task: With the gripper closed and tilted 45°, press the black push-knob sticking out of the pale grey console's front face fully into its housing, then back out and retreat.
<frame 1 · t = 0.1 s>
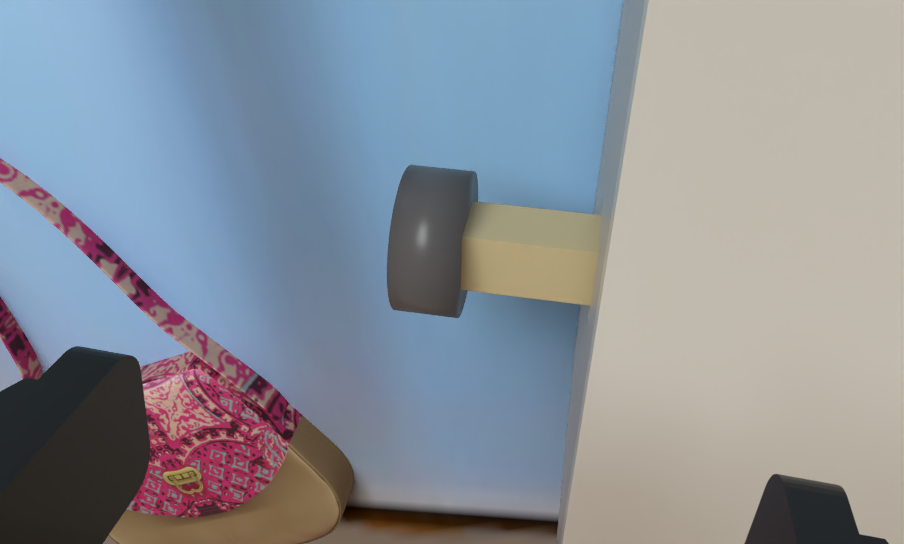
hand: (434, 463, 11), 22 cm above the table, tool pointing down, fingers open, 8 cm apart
knob: (530, 252, 26), point 8 cm above the table, slide at 0.0 cm
console: (739, 150, 32), on the table
shoulder bag: (122, 348, 45), on the table
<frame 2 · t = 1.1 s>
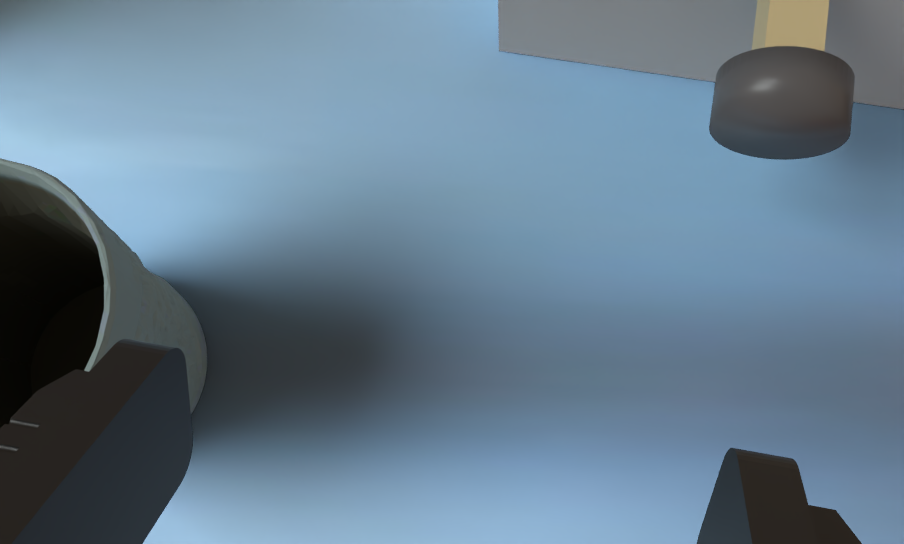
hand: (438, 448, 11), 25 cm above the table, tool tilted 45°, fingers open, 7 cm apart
grey green cup: (121, 366, 37), on the table
knob: (788, 30, 31), point 8 cm above the table, slide at 0.0 cm
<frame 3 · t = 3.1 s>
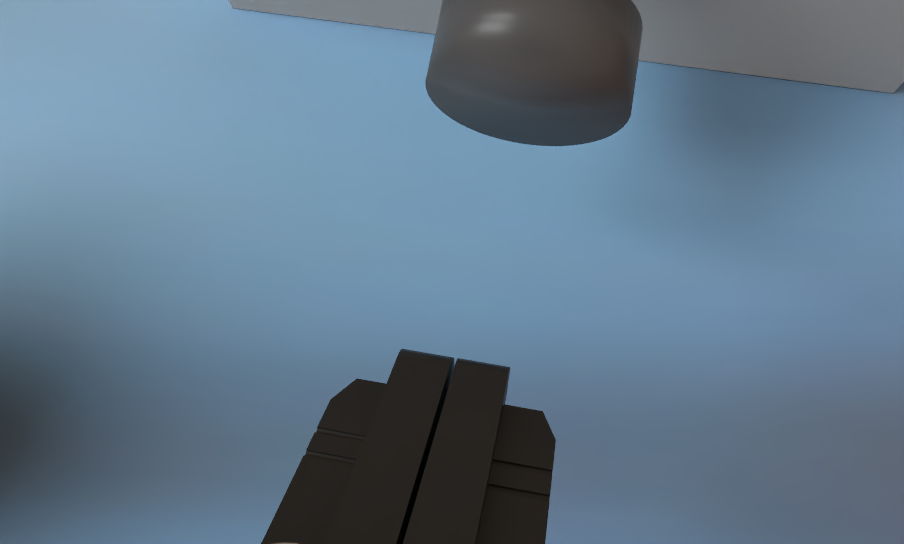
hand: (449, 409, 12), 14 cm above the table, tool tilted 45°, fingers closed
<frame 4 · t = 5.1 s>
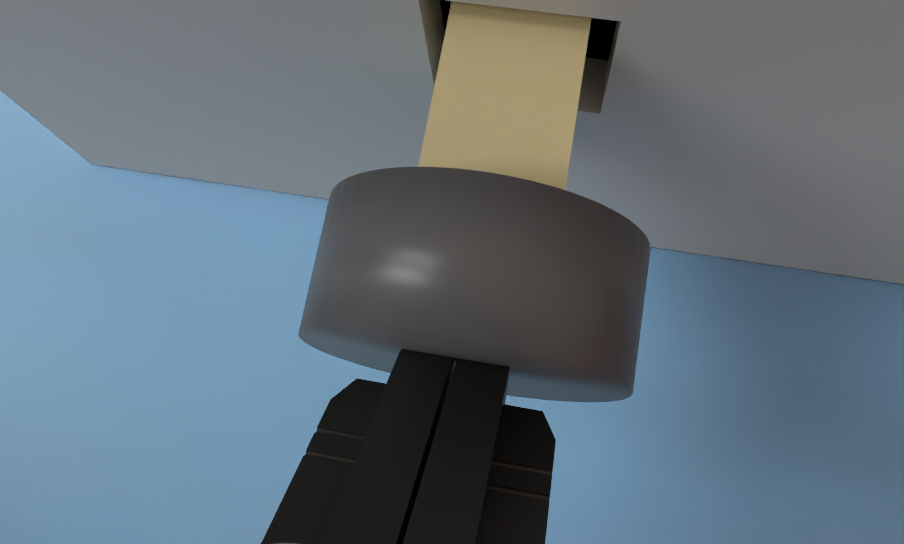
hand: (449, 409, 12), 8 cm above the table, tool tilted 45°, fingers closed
knob: (509, 106, 13), point 8 cm above the table, slide at 1.2 cm, touching gripper
console: (545, 44, 22), on the table
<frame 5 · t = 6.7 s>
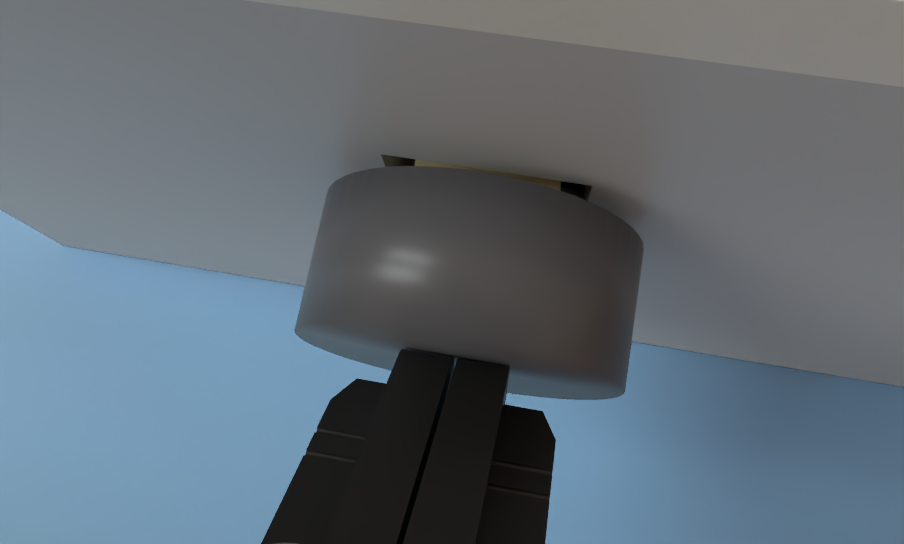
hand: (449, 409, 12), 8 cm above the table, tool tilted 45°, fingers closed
knob: (505, 105, 13), point 8 cm above the table, slide at 3.6 cm
console: (528, 126, 21), on the table
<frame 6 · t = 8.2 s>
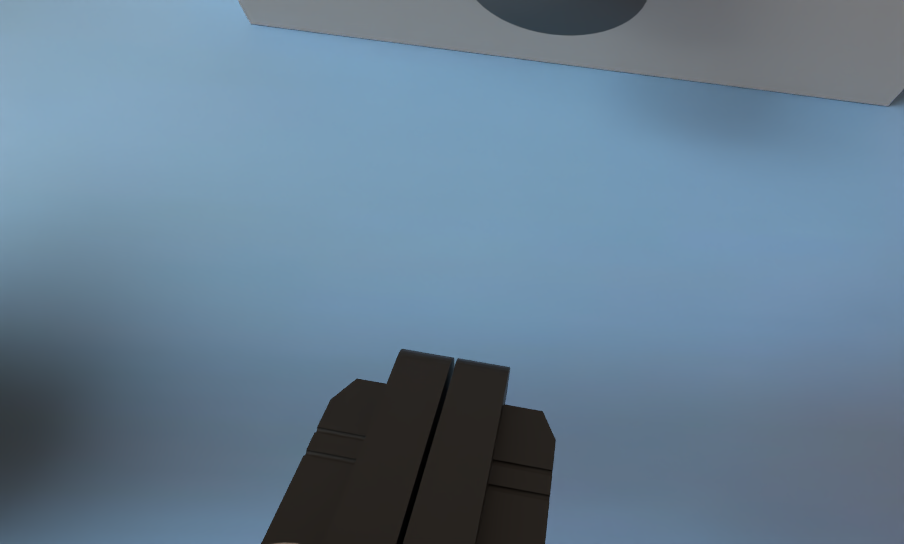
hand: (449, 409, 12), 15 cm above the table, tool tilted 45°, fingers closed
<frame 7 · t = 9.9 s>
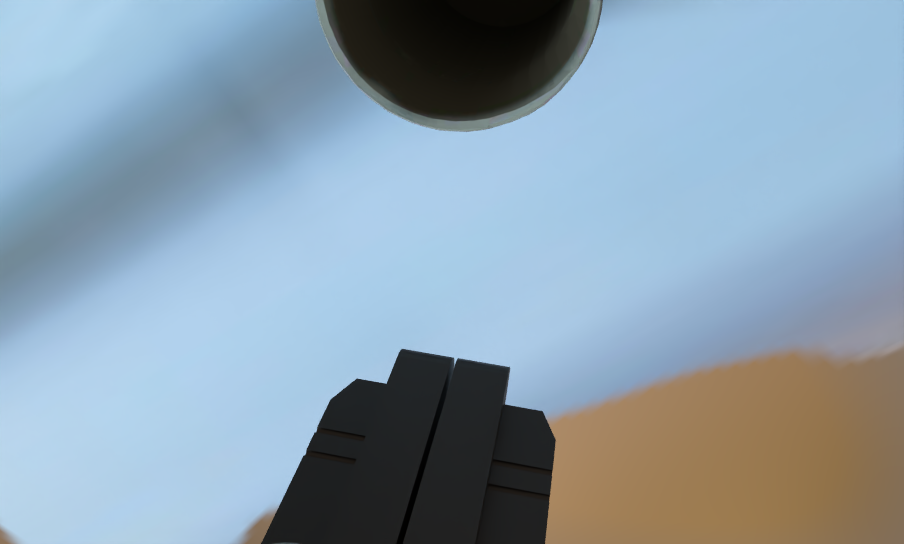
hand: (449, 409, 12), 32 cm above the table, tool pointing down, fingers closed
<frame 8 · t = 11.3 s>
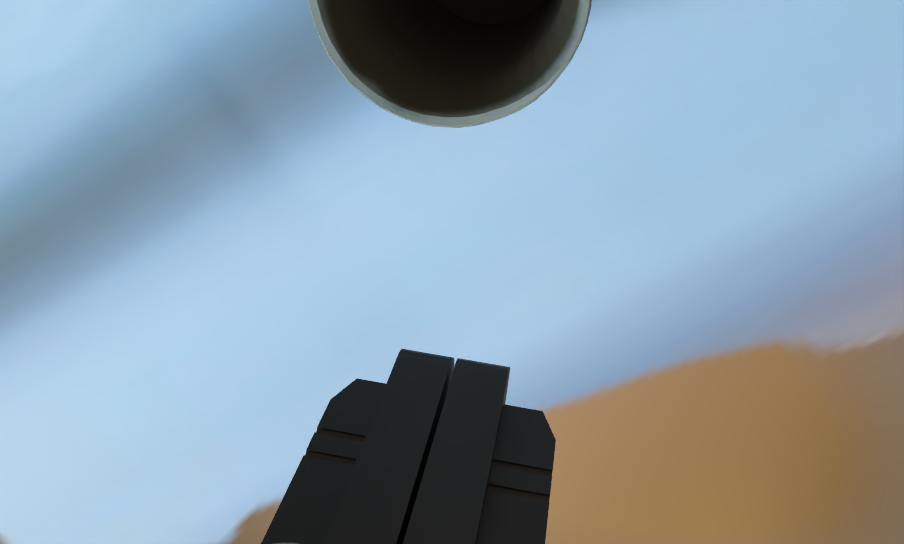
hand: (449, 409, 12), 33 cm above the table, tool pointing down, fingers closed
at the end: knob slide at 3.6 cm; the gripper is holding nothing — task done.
